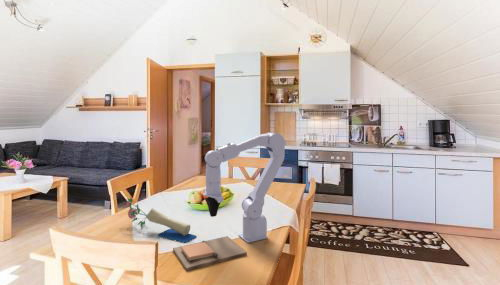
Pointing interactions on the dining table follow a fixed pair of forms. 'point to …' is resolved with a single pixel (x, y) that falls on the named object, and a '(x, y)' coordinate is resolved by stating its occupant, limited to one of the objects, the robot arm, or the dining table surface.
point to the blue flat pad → (176, 236)
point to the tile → (197, 251)
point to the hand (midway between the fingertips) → (213, 215)
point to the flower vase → (158, 219)
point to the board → (222, 252)
